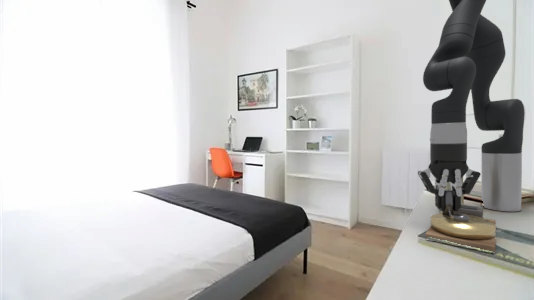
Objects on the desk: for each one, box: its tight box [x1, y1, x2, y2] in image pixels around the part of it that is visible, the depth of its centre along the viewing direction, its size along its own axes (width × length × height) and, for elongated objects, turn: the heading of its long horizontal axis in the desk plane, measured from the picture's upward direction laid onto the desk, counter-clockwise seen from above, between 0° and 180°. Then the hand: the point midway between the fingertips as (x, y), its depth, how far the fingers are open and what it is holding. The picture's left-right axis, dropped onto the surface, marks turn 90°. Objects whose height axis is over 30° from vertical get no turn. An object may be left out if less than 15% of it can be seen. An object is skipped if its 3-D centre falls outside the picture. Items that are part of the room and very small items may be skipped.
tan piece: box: [425, 204, 497, 253], centre depth 63 cm, size 20×12×5 cm, turn 138°
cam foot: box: [430, 190, 497, 239], centre depth 60 cm, size 12×12×8 cm
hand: (447, 209), depth 65 cm, fingers closed on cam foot, 2 cm apart
